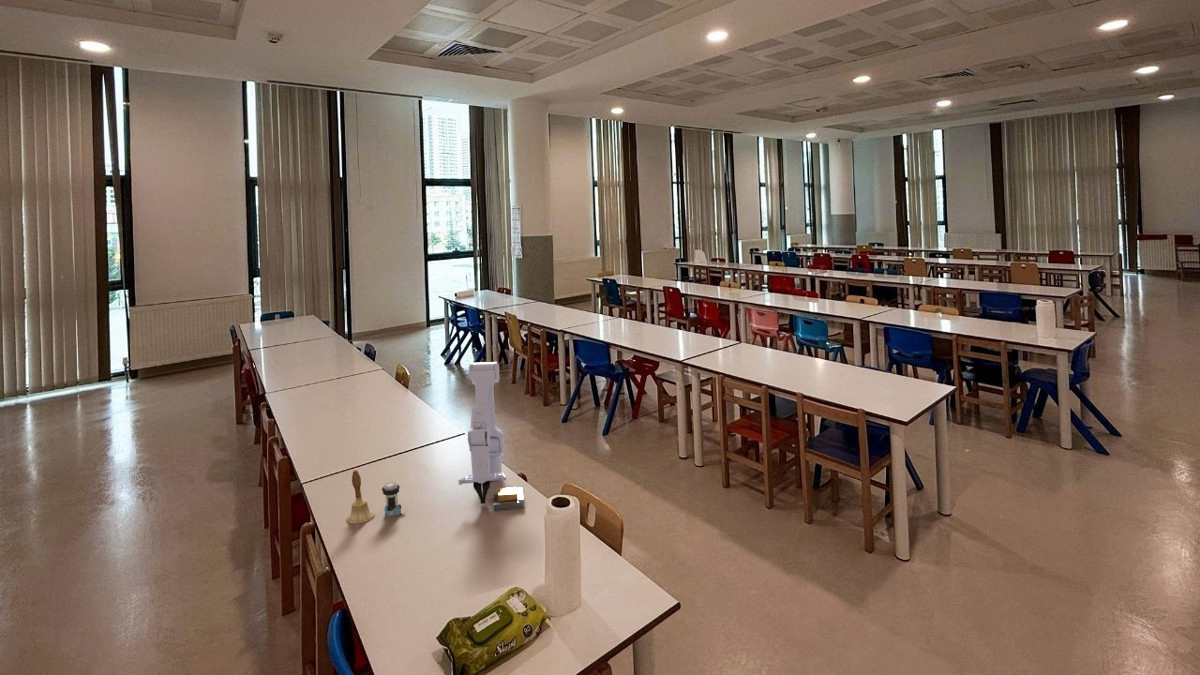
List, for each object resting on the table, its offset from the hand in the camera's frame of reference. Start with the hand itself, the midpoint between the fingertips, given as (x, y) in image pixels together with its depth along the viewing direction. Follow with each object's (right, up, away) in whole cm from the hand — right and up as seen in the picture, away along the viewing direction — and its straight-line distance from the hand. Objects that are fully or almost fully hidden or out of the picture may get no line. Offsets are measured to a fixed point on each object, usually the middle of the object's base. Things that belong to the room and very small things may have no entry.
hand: (483, 502), depth 198 cm
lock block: (+8, -1, +1) cm, 8 cm away
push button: (-27, -3, -4) cm, 28 cm away
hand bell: (-38, -3, -6) cm, 38 cm away
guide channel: (+8, -1, +1) cm, 8 cm away
